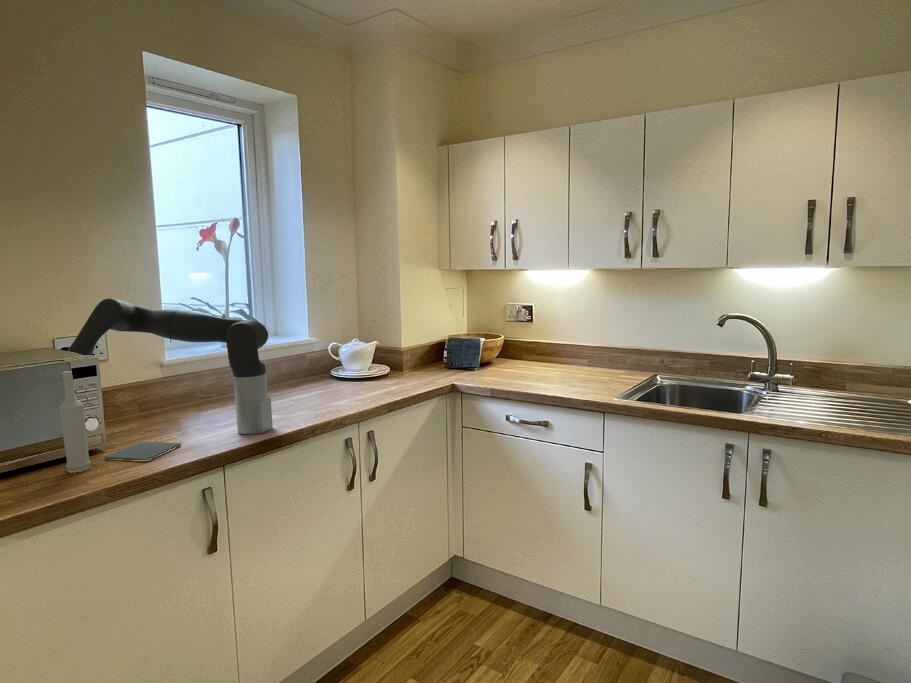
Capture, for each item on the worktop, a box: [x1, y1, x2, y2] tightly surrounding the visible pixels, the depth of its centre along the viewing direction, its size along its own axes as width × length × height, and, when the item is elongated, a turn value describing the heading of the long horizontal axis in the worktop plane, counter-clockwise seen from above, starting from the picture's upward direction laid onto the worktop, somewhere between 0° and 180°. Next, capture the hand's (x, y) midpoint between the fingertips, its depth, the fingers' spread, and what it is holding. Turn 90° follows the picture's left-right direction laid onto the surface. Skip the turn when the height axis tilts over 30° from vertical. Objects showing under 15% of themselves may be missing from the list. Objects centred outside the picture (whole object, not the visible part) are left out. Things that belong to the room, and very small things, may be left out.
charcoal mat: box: [104, 441, 182, 460], centre depth 156 cm, size 13×13×1 cm
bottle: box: [59, 371, 92, 472], centre depth 142 cm, size 5×5×25 cm
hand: (65, 412), depth 150 cm, fingers open, 8 cm apart
